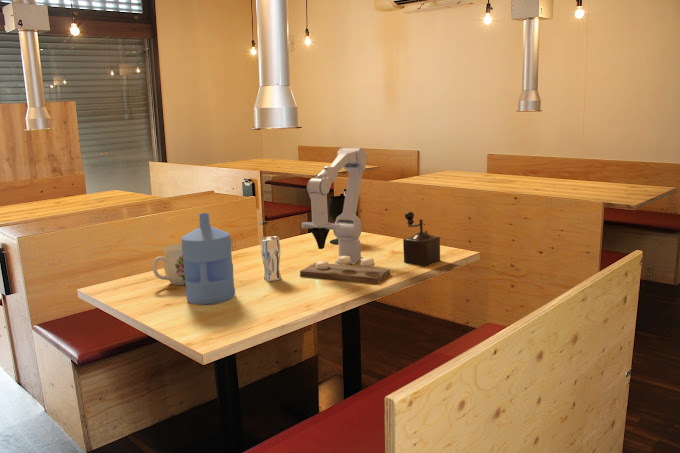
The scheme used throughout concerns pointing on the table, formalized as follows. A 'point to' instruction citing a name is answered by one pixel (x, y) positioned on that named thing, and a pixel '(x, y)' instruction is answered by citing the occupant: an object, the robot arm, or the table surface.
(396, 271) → the table surface
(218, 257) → the water jug
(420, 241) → the manual coffee grinder
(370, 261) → the knob
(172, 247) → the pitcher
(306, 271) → the wooden board with recesses
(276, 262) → the beer glass
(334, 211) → the wine glass
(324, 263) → the knob
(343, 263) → the knob
